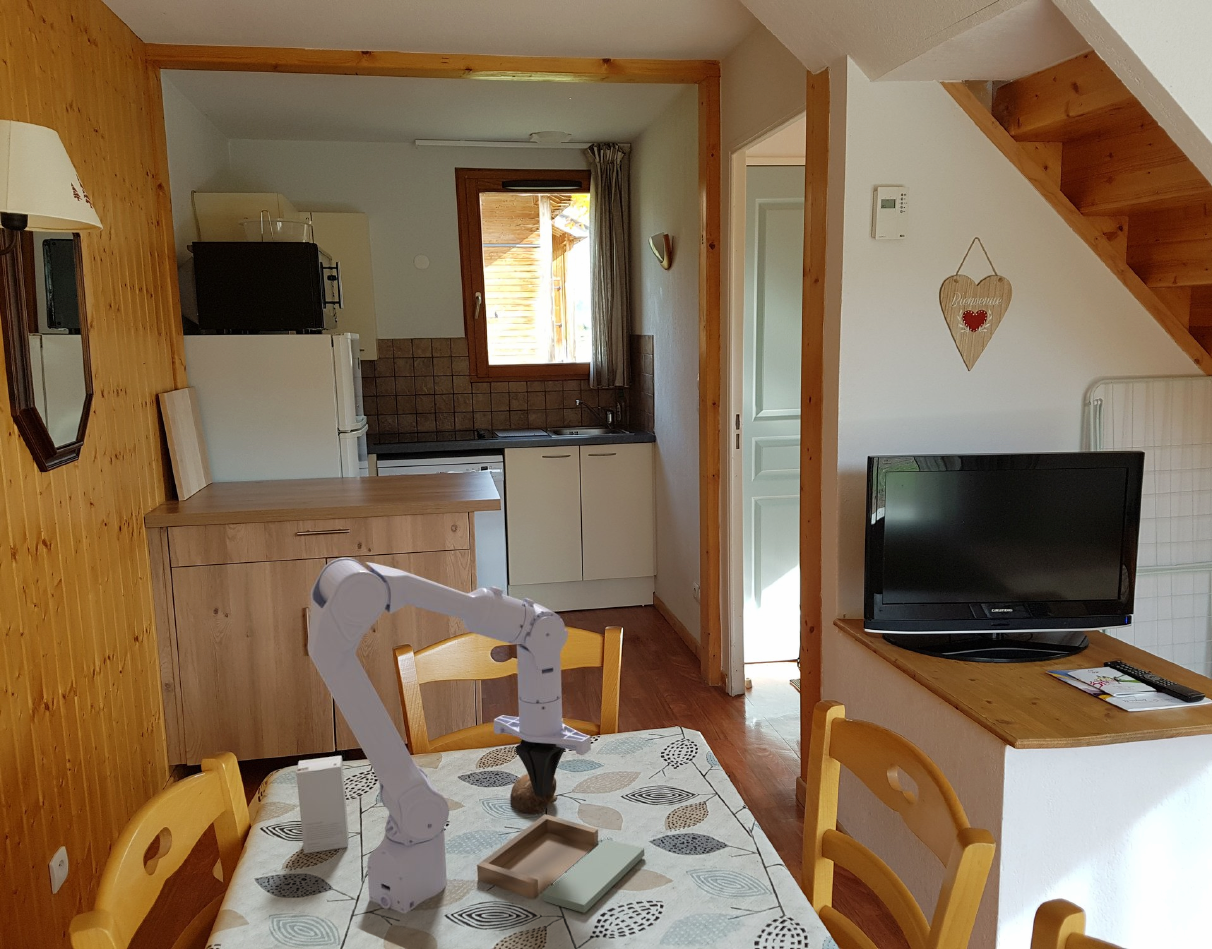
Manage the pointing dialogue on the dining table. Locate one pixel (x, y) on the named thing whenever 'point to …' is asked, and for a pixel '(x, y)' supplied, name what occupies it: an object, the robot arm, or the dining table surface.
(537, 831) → the crate
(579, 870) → the panel
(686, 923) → the dining table surface
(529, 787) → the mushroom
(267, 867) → the dining table surface
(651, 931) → the dining table surface
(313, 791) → the skincare box
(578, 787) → the dining table surface
